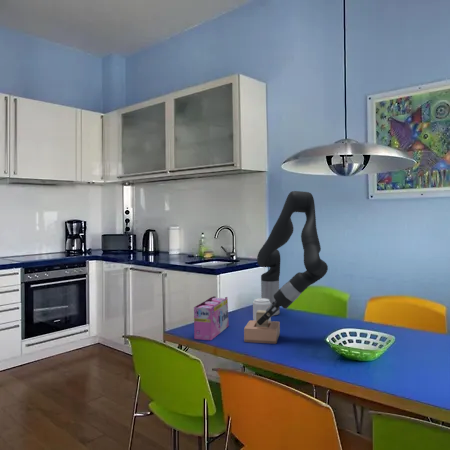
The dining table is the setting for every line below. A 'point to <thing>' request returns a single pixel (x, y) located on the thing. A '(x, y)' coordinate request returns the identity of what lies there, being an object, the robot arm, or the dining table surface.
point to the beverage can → (260, 306)
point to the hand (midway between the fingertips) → (260, 320)
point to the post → (259, 315)
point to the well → (262, 332)
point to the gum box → (210, 318)
